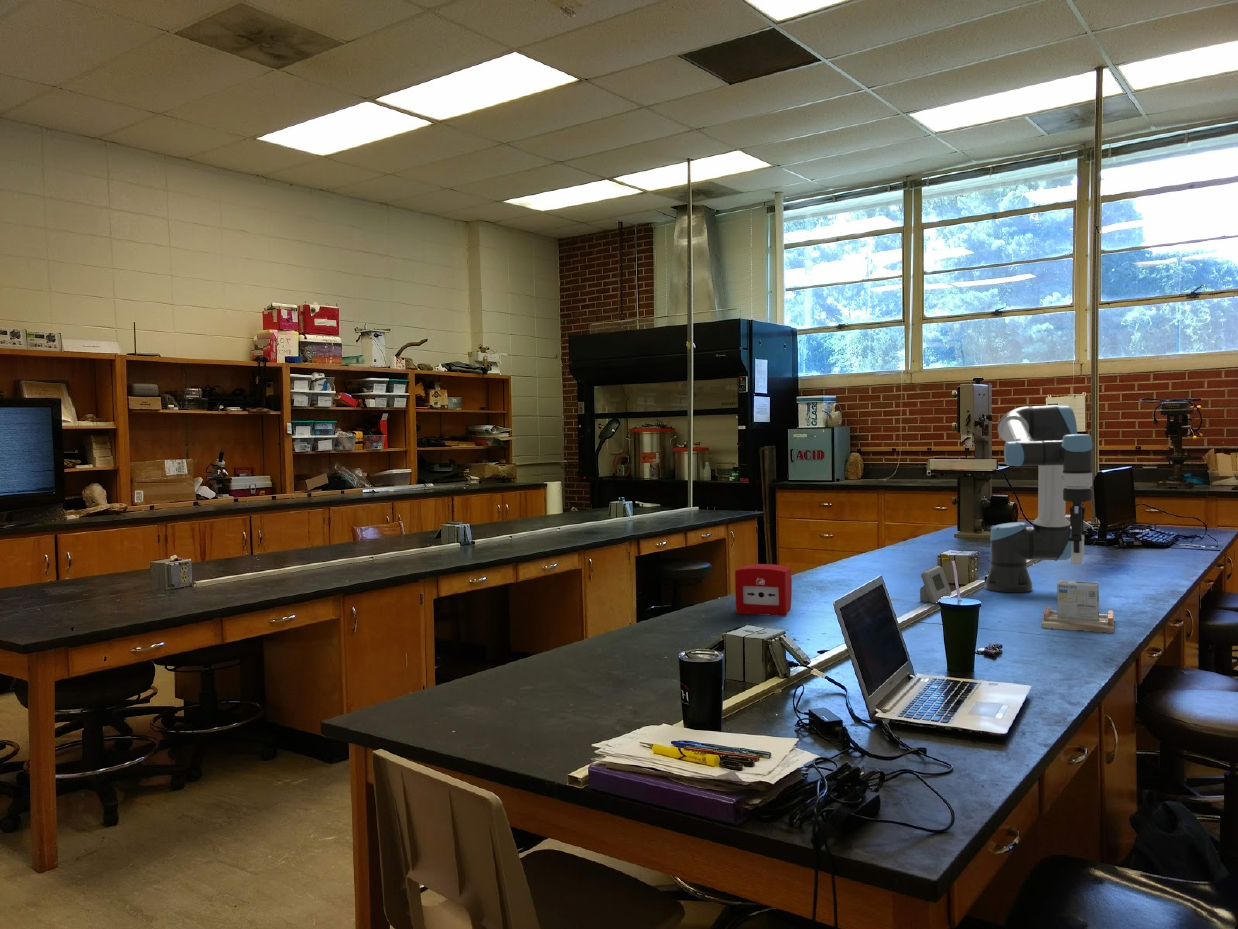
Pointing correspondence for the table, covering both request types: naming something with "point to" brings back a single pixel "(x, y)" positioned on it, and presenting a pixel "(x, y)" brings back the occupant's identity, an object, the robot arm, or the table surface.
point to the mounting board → (1078, 625)
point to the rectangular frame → (1048, 612)
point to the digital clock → (934, 585)
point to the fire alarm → (763, 589)
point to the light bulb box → (1078, 600)
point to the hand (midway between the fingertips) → (1077, 560)
